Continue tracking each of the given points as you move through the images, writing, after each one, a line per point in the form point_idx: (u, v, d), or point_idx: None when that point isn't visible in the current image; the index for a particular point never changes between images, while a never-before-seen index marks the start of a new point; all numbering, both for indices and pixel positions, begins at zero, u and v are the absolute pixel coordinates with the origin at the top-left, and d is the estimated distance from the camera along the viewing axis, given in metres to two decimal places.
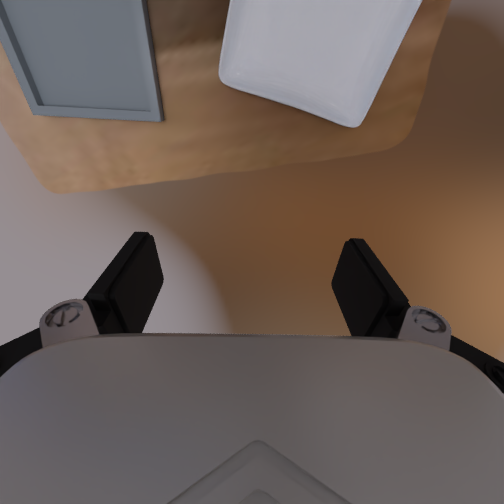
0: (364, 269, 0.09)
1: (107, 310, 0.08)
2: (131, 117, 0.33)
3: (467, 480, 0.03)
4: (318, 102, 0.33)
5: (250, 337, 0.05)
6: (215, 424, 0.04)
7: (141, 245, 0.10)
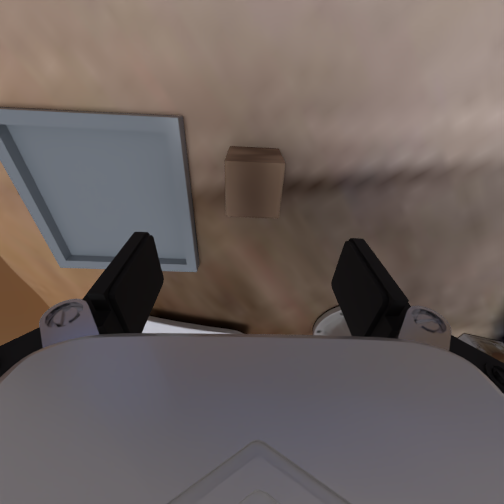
0: (364, 269, 0.09)
1: (107, 310, 0.08)
2: (48, 241, 0.28)
3: (467, 480, 0.03)
4: None
5: (250, 337, 0.05)
6: (215, 424, 0.04)
7: (141, 245, 0.10)
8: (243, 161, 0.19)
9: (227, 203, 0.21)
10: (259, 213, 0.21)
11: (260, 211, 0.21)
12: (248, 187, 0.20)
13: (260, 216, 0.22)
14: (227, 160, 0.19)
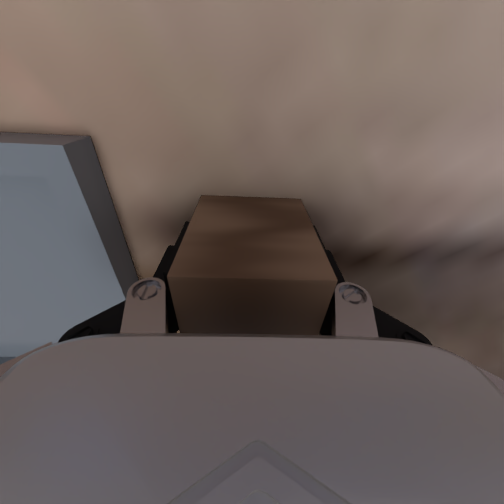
0: None
1: None
2: None
3: (467, 480, 0.03)
4: None
5: (250, 337, 0.05)
6: (215, 424, 0.04)
7: None
8: (221, 274, 0.07)
9: None
10: None
11: None
12: (238, 324, 0.08)
13: None
14: (176, 272, 0.07)
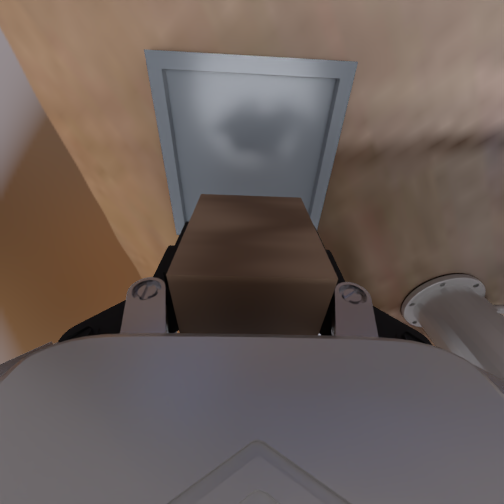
0: None
1: None
2: (174, 205, 0.27)
3: (467, 480, 0.03)
4: None
5: (250, 337, 0.05)
6: (215, 424, 0.04)
7: None
8: (220, 272, 0.07)
9: None
10: None
11: None
12: (237, 323, 0.08)
13: None
14: (175, 270, 0.07)
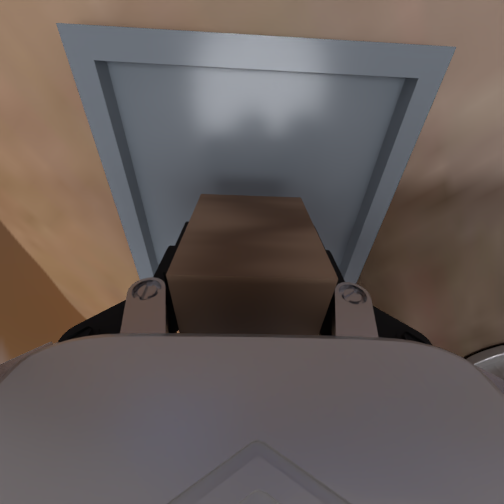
0: None
1: None
2: (140, 267, 0.18)
3: (467, 480, 0.03)
4: None
5: (250, 337, 0.05)
6: (215, 424, 0.04)
7: None
8: (220, 272, 0.07)
9: None
10: None
11: None
12: (237, 323, 0.08)
13: None
14: (175, 270, 0.07)
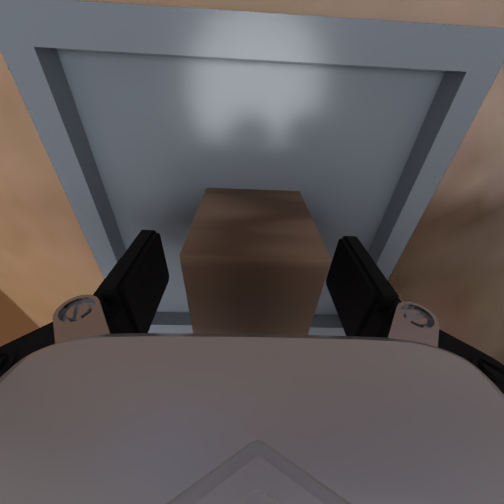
0: (356, 266, 0.09)
1: (117, 306, 0.08)
2: None
3: (467, 480, 0.03)
4: None
5: (250, 337, 0.05)
6: (215, 424, 0.04)
7: (148, 243, 0.10)
8: (227, 253, 0.08)
9: (196, 325, 0.10)
10: None
11: None
12: (242, 301, 0.09)
13: None
14: (187, 251, 0.08)
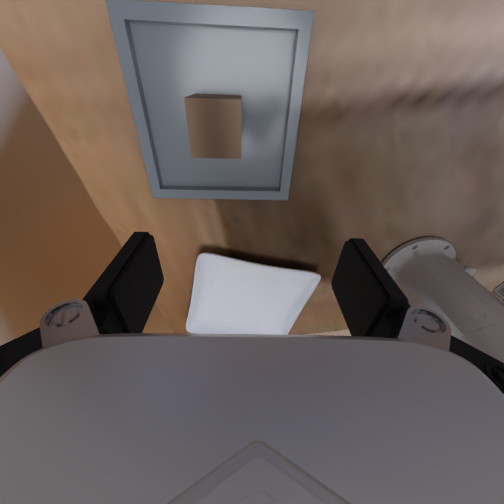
0: (364, 269, 0.09)
1: (107, 310, 0.08)
2: (148, 166, 0.28)
3: (467, 480, 0.03)
4: (197, 307, 0.44)
5: (250, 337, 0.05)
6: (215, 424, 0.04)
7: (141, 245, 0.10)
8: (202, 98, 0.20)
9: (191, 143, 0.22)
10: (222, 154, 0.23)
11: (223, 151, 0.23)
12: (209, 126, 0.21)
13: (223, 157, 0.23)
14: (187, 97, 0.20)
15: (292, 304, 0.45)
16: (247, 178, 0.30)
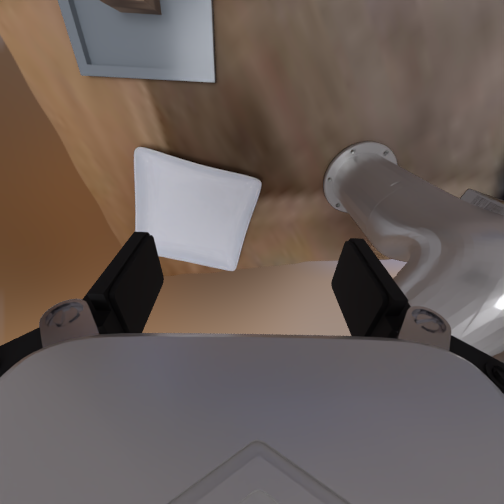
0: (364, 269, 0.09)
1: (107, 310, 0.08)
2: (70, 33, 0.29)
3: (467, 480, 0.03)
4: (145, 221, 0.45)
5: (250, 337, 0.05)
6: (215, 424, 0.04)
7: (141, 245, 0.10)
8: None
9: None
10: None
11: None
12: None
13: None
14: None
15: (240, 222, 0.45)
16: (173, 57, 0.31)
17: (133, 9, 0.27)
